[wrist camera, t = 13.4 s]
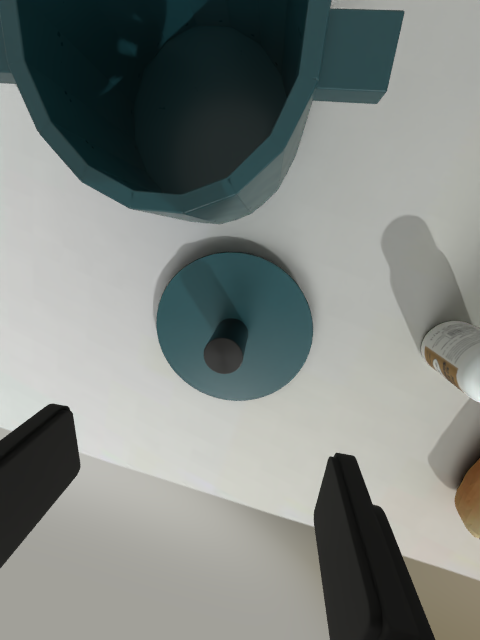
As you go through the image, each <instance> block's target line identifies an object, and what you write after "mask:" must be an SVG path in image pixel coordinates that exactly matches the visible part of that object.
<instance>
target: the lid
mask: <svg viewBox="0 0 480 640" xmlns="http://www.w3.org/2000/svg"><path fill="white" fill-rule="evenodd" d="M156 324H157V335H158V339H159V343H160V346H161V349H162V352H163V354H164V356H165V358H166V360H167V361H168V363H169V364H170V366H171V367H172V369H173V370H174V371H175V372H176V373H177V374H178V375H179V376H180V377H181V378H182V379H183V380H184V381H185V382H186V383H188V384H189V385H190V386H192V387H193V388H195V389H197V390H198V391H200V392H202V393H205V394H207V395H210V396H213V397H216V398H220V399H225V400H233V401H245V400H252V399H257V398H261V397H264V396H267V395H269V394H272V393H274V392H275V391H277V390H279V389H281V388H282V387H283V386H285V385H286V384H288V383H289V382H290V381H291V380H292V379H293V378H294V377H295V376H296V374H297V373H298V372H299V371H300V369H301V368H302V366H303V365H304V363H305V361H306V359H307V356H308V354H309V351H310V348H311V344H312V336H313V323H312V317H311V312H310V309H309V306H308V303H307V301H306V299H305V296H304V294H303V293H302V291H301V290H300V288H299V287H298V285H297V284H296V282H295V281H294V280H293V279H292V278H291V277H290V276H289V275H288V274H287V273H286V272H285V271H284V270H282V269H281V268H280V267H278V266H277V265H275V264H274V263H272V262H270V261H268V260H266V259H264V258H261V257H258V256H255V255H252V254H247V253H241V252H223V253H216V254H212V255H208V256H205V257H202V258H200V259H197V260H195V261H194V262H192V263H190V264H189V265H187V266H186V267H184V268H183V269H182V270H181V271H179V272H178V273H177V274H176V275H175V276H174V278H173V279H172V280H171V281H170V283H169V284H168V286H167V287H166V289H165V291H164V293H163V295H162V297H161V300H160V303H159V307H158V312H157V323H156Z"/></svg>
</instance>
